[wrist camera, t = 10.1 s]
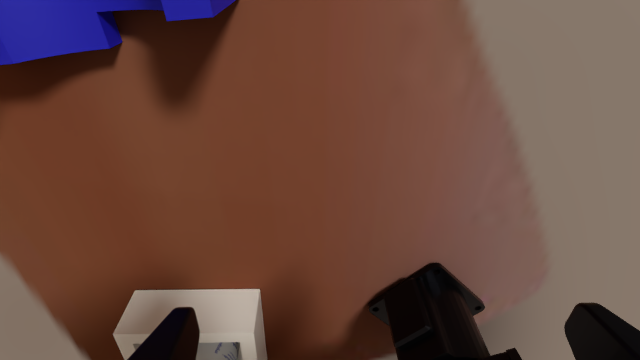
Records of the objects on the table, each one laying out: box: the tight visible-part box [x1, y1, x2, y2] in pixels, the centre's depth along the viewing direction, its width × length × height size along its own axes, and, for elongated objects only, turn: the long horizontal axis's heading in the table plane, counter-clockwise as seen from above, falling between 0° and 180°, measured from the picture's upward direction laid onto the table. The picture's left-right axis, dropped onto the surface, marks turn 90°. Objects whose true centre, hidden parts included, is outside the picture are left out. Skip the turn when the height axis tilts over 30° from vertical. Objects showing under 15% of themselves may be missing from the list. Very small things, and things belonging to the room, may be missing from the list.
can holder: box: [113, 289, 267, 360], centre depth 28 cm, size 9×9×4 cm
